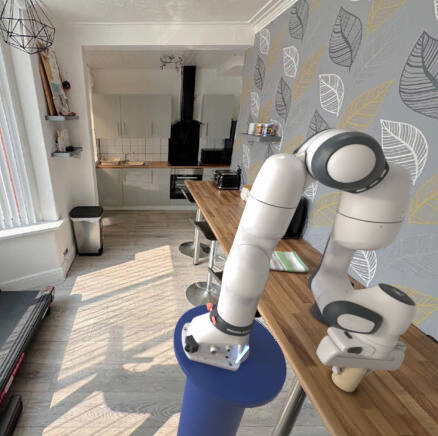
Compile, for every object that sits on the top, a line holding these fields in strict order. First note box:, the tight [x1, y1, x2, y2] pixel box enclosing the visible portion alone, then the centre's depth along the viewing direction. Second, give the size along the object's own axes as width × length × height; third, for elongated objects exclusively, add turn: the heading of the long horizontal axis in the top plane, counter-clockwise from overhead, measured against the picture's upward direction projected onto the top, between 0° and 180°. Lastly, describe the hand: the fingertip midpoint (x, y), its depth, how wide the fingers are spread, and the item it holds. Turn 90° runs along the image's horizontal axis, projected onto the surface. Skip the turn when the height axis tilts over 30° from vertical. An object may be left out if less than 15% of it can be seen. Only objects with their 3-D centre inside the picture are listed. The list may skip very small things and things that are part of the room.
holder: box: [311, 300, 333, 327], centre depth 91 cm, size 10×10×5 cm
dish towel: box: [269, 250, 310, 274], centre depth 126 cm, size 17×23×4 cm
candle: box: [331, 367, 367, 393], centre depth 67 cm, size 6×6×10 cm
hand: (348, 373), depth 67 cm, fingers closed on candle, 5 cm apart
